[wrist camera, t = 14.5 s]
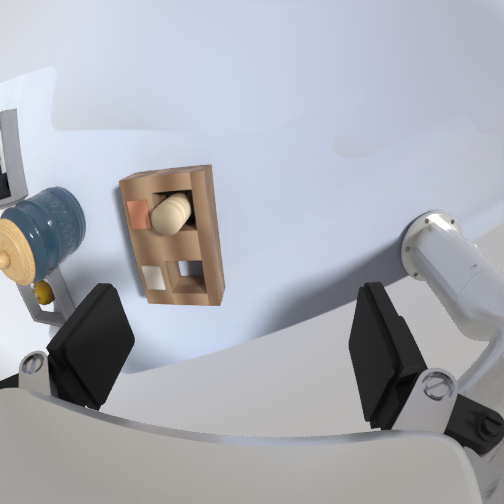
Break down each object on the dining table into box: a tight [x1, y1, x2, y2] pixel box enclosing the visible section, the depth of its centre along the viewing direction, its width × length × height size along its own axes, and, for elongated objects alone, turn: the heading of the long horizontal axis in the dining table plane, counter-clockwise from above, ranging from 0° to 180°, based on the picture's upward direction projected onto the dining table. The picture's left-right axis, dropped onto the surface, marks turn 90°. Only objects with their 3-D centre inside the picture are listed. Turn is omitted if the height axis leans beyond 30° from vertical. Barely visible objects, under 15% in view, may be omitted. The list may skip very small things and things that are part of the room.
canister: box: [0, 187, 86, 286], centre depth 35 cm, size 13×13×18 cm
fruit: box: [32, 280, 54, 305], centre depth 50 cm, size 8×8×4 cm
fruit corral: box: [16, 266, 76, 327], centre depth 50 cm, size 15×14×4 cm
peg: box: [151, 189, 194, 235], centre depth 36 cm, size 4×4×8 cm
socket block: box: [119, 165, 225, 306], centre depth 40 cm, size 12×20×5 cm, turn 3°
